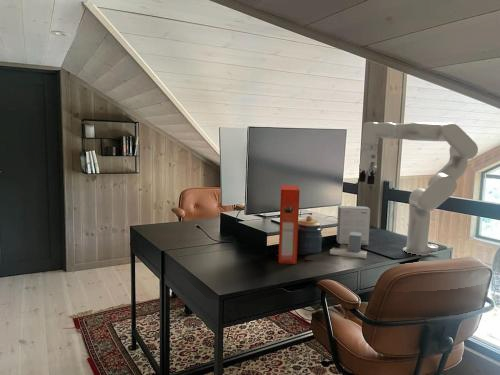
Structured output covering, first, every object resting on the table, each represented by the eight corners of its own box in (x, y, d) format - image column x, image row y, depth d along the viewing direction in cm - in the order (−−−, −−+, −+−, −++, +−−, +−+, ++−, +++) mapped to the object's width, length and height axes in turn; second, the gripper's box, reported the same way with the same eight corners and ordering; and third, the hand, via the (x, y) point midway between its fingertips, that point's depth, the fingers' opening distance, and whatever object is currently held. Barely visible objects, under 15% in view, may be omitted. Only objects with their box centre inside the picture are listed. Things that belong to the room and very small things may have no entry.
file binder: (277, 262, 169) (281, 189, 166) (278, 251, 186) (281, 184, 183) (296, 264, 169) (300, 190, 165) (295, 252, 186) (298, 185, 182)
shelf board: (366, 254, 187) (367, 247, 186) (365, 261, 176) (366, 254, 175) (332, 250, 192) (333, 243, 191) (329, 257, 180) (330, 249, 180)
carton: (360, 251, 187) (361, 232, 186) (359, 255, 180) (360, 236, 179) (348, 250, 188) (349, 231, 187) (347, 253, 182) (348, 234, 181)
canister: (320, 257, 180) (322, 219, 178) (292, 254, 183) (293, 217, 181) (321, 249, 193) (323, 214, 190) (295, 247, 195) (297, 212, 193)
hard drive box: (365, 244, 207) (368, 206, 204) (368, 248, 199) (371, 209, 197) (335, 242, 208) (338, 205, 206) (337, 246, 200) (339, 207, 198)
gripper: (385, 148, 182) (381, 185, 185) (369, 147, 199) (365, 181, 202) (369, 148, 181) (366, 184, 183) (355, 146, 198) (351, 180, 200)
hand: (366, 182), depth 192 cm, fingers open, 9 cm apart
